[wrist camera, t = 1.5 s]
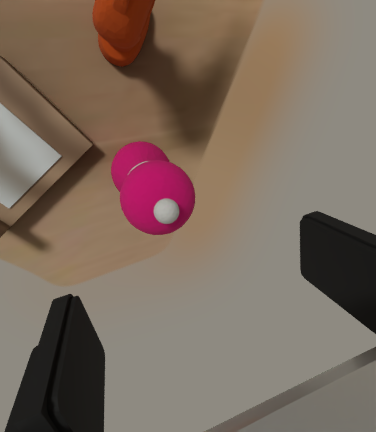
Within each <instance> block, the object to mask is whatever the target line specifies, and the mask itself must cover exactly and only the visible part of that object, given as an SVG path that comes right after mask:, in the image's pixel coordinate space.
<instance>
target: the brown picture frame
mask: <svg viewBox="0 0 376 432" xmlns="http://www.w3.org/2000/svg"><path fill="white" fill-rule="evenodd" d="M92 145H93V143H92V142H91V141H90V140H89V139H88V138H87V137H86V136H85V135H84V134H83V133H82V132H81V131H80V130H79V129H78V128H76V127H75V126H74V125H73V124H72V123H71V122H70V121H69V120H68V119H67V118H66V117H65V116H64V115H63V114H62V113H61V112H60V111H59V110H58V109H57V108H55V107H54V106H53V105H52V104H51V103H50V102H49V101H48V100H47V99H46V98H45V97H44V96H43V95H42V94H41V93H40V92H39V91H38V90H37V89H36V88H34V87H33V86H32V85H31V84H30V83H29V82H28V81H27V80H26V79H25V78H24V77H23V76H22V75H21V74H20V73H19V72H18V71H17V70H16V69H15V68H13V67H12V66H11V65H10V64H9V63H8V62H7V61H6V60H5V59H4V58H3V57H1V56H0V237H1V236H2V235H3V234H4V233H5V232H6V231H7V230H8V229H9V228H10V227H11V226H12V225H13V224H14V223H15V222H16V221H17V220H18V219H19V218H20V217H21V216H22V215H23V214H24V213H25V212H26V211H27V210H28V209H29V208H30V207H31V206H32V205H33V204H34V203H35V202H36V201H37V200H38V199H39V198H40V197H41V196H42V195H43V194H44V193H45V192H46V191H47V190H48V189H49V188H50V187H51V186H52V185H53V184H54V183H55V182H56V181H57V180H58V179H59V178H60V177H61V176H62V175H63V174H64V173H65V172H66V171H67V170H68V169H69V168H70V167H71V166H72V165H73V164H74V163H75V162H76V161H77V160H78V159H79V158H80V157H81V156H82V155H83V154H84V153H85V152H86V151H87V150H88V149H89V148H90V147H91V146H92Z"/></svg>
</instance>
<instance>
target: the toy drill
mask: <svg viewBox="0 0 376 432" xmlns="http://www.w3.org/2000/svg"><path fill="white" fill-rule="evenodd" d="M154 2H155V0H95V4H94V8H93V13H92V14H93V23H94V26H95V29H96V30H97V32H98V42H99V47H100V50H101V52H102V54H103V56H104V57H105V58H106V59H107V60H108V61H109V62H110V63H112V64H114V65H116V66H121V67H122V66H127V65H129V64H130V63H132V62H133V61H134V60H135V58H136V57H137V55H138V53H139V52H140V49H141V47H142V45H143V42H144V39H145V37H146V34H147V30H148V27H149V21H150V14H151V11H152V8H153V6H154Z"/></svg>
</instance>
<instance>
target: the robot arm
mask: <svg viewBox="0 0 376 432" xmlns="http://www.w3.org/2000/svg"><path fill="white" fill-rule="evenodd" d="M300 264H301V266H300V267H301V274H302V276H303V277H304V278H305V279H306V280H307V281H309V282H310V283H311V284H313V285H314V286H315V287H316V288H318V289H319V290H320V291H322V292H323V293H324V294H325V295H327V296H328V297H329V298H330V299H332V300H333V301H334V302H335V303H337V304H338V305H339V306H341V307H342V308H343V309H344V310H346V311H347V312H348V313H349V314H351V315H352V316H353V317H355V318H356V319H357V320H358V321H360V322H361V323H362V324H364V325H365V326H366V327H367V328H369V329H370V330H371V331H373V332H374V333H375V334H376V235H374V234H372V233H369V232H367V231H365V230H362V229H360V228H357V227H355V226H353V225H350V224H348V223H345V222H343V221H340V220H338V219H336V218H333V217H331V216H328V215H326V214H324V213H321V212H318V211H316V212H312V213H309V214H306V215H304V216H303V218H302V220H301V221H300ZM104 386H105V353H104V349H103V346H102V344H101V342H100V340H99V338H98V336H97V333H96V331H95V329H94V327H93V325H92V323H91V321H90V319H89V317H88V314H87V312H86V310H85V308H84V306H83V304H82V302H81V300H80V298H79V296H75V297H73V295H72V294H68V295H65V296H62V297H60V298H56V299H54V300H53V301H52V304H51V307H50V310H49V314H48V316H47V320H46V323H45V326H44V329H43V332H42V335H41V338H40V341H39V345H38V346H36V347H35V348H34V349H33V351H32V353H31V355H30V358H29V361H28V364H27V367H26V370H25V373H24V376H23V379H22V382H21V385H20V388H19V391H18V394H17V396H16V399H15V403H14V406H13V408H12V411H11V414H10V417H9V420H8V423H7V426H6V429H5V432H104ZM205 432H376V347H375V348H373V349H370V350H368V351H366V352H364V353H362V354H360V355H358V356H356V357H354V358H352V359H350V360H348V361H346V362H344V363H342V364H340V365H338V366H336V367H334V368H331V369H330V370H327V371H325V372H323V373H321V374H319V375H317V376H315V377H313V378H311V379H309V380H307V381H305V382H303V383H301V384H299V385H297V386H295V387H293V388H291V389H289V390H287V391H285V392H283V393H281V394H279V395H277V396H275V397H273V398H271V399H269V400H267V401H265V402H263V403H261V404H259V405H257V406H255V407H253V408H251V409H249V410H247V411H245V412H243V413H241V414H239V415H237V416H235V417H233V418H231V419H229V420H227V421H225V422H223V423H221V424H219V425H217V426H215V427H213V428H211V429H209V430H207V431H205Z"/></svg>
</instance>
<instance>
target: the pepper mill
mask: <svg viewBox="0 0 376 432" xmlns="http://www.w3.org/2000/svg"><path fill="white" fill-rule="evenodd" d="M111 174H112V179H113V182H114V184H115V186H116V188H117V189H118V190H119V192H120V203H121V207H122V211H123V213H124V215H125V216H126V218H127V220H128V221H129V222H130V223H131V224H132V225H133V226H134V227H135V228H137V229H139V230H140V231H142V232H145V233H148V234H152V235H163V234H168V233H171V232H174V231H176V230H177V229H179V228H180V227H182V226H183V225H184V224H185V222H186V221H187V220H188V219H189V217H190V216H191V214H192V211H193V208H194V204H195V192H194V187H193V184H192V182H191V180H190V179H189V177H188V176H187V174H186V173H185V172H184V171H183V170H182V169H181V168H179V167H178V166H176V165H175V164H173V163H170V162H169V160H168V158H167V156H166V155H165V154H164V152H163V151H162V150H161V149H160V148H158V147H157V146H155V145H153V144H151V143H147V142H133V143H130V144H128V145H126V146H124V147H123V148H121V149H120V150H119V151H118V152H117V154H116V155H115V157H114V160H113V162H112V167H111Z"/></svg>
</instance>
